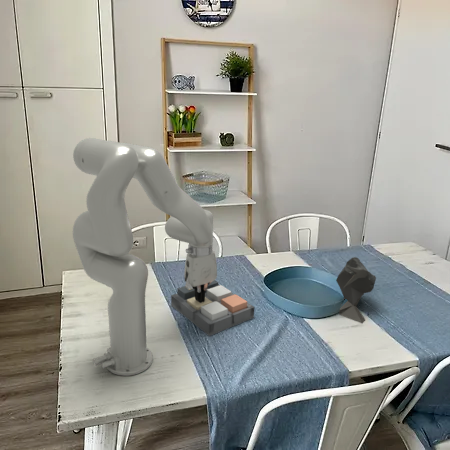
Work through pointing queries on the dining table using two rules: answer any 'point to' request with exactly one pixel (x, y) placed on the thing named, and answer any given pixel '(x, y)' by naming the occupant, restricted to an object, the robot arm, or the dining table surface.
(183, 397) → the dining table surface
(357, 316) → the dark faceted sculpture
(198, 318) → the keypad
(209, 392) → the dining table surface
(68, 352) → the dining table surface
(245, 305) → the key terracotta
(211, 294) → the key grey back
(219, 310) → the key grey front
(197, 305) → the key sand
